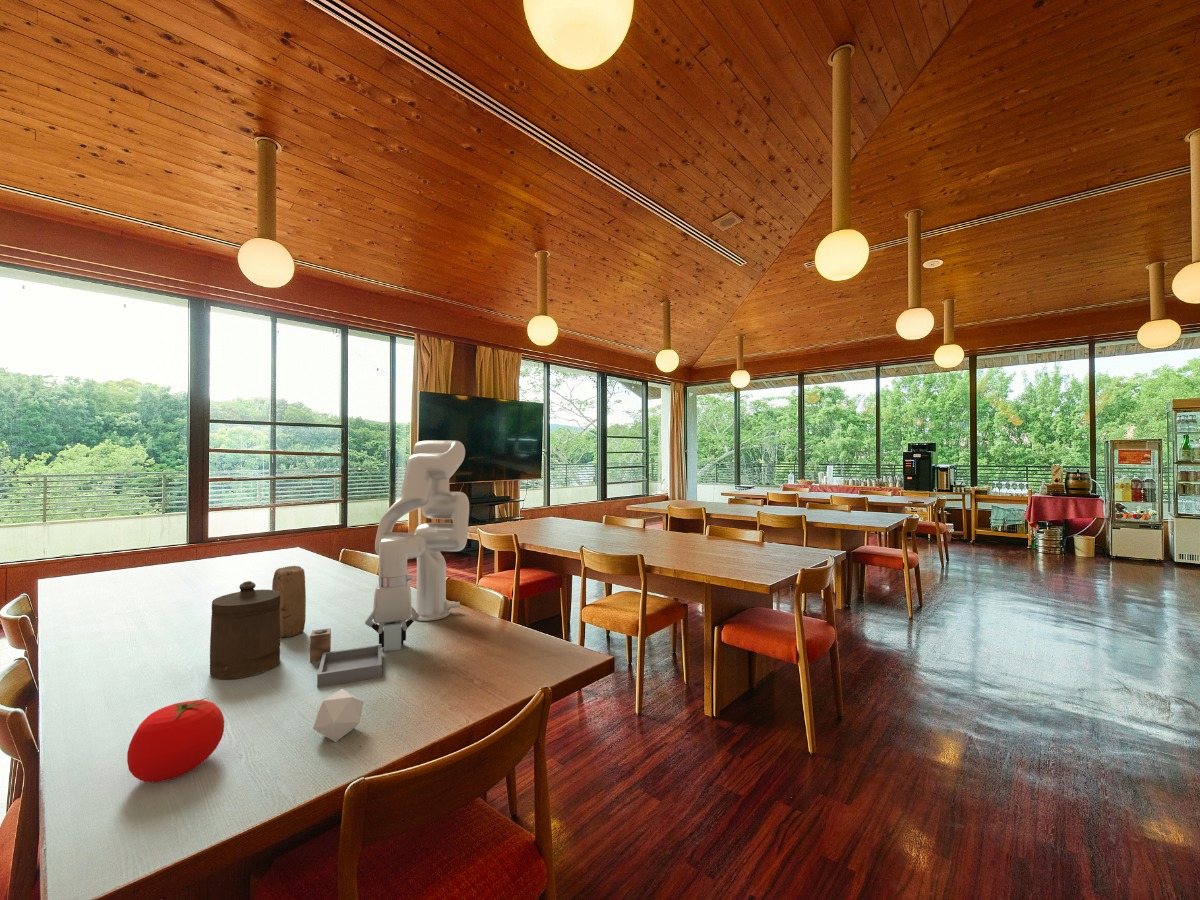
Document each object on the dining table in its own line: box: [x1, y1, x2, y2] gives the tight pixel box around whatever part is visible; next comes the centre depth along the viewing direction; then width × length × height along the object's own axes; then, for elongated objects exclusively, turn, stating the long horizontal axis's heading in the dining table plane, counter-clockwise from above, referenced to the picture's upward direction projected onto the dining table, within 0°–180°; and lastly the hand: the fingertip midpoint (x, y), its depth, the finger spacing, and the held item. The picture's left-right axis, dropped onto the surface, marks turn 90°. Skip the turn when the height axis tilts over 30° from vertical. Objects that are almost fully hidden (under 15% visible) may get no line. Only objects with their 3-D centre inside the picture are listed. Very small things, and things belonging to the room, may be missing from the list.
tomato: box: [126, 696, 225, 783], centre depth 87 cm, size 12×14×11 cm
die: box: [312, 688, 364, 743], centre depth 98 cm, size 8×9×10 cm
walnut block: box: [309, 628, 332, 663], centre depth 135 cm, size 4×4×7 cm
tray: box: [316, 644, 383, 688], centre depth 127 cm, size 14×14×3 cm
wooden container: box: [209, 580, 281, 680], centre depth 129 cm, size 15×15×22 cm
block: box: [271, 565, 307, 638], centre depth 153 cm, size 11×8×20 cm
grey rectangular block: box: [383, 621, 402, 652], centre depth 142 cm, size 4×4×7 cm
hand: (392, 644), depth 142 cm, fingers closed on grey rectangular block, 4 cm apart
